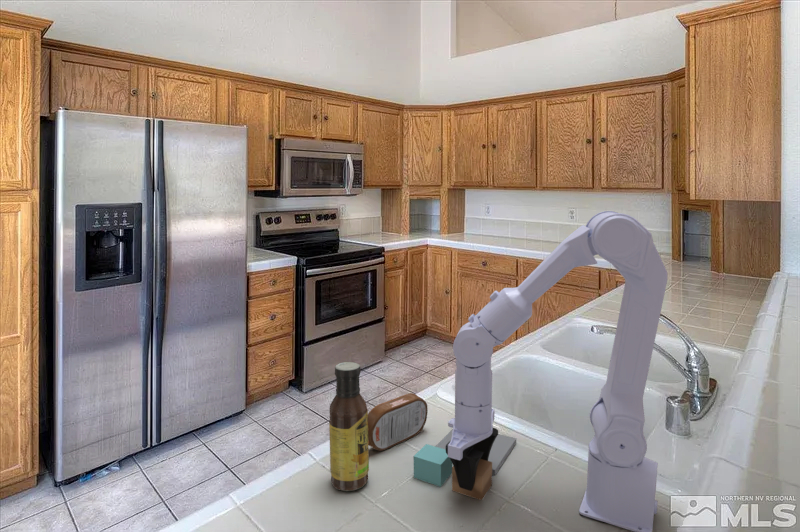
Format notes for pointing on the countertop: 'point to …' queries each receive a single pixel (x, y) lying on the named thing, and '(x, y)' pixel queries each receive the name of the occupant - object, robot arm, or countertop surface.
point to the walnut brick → (476, 481)
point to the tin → (396, 421)
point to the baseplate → (498, 450)
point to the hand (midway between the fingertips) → (472, 479)
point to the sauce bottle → (348, 431)
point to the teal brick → (432, 465)
